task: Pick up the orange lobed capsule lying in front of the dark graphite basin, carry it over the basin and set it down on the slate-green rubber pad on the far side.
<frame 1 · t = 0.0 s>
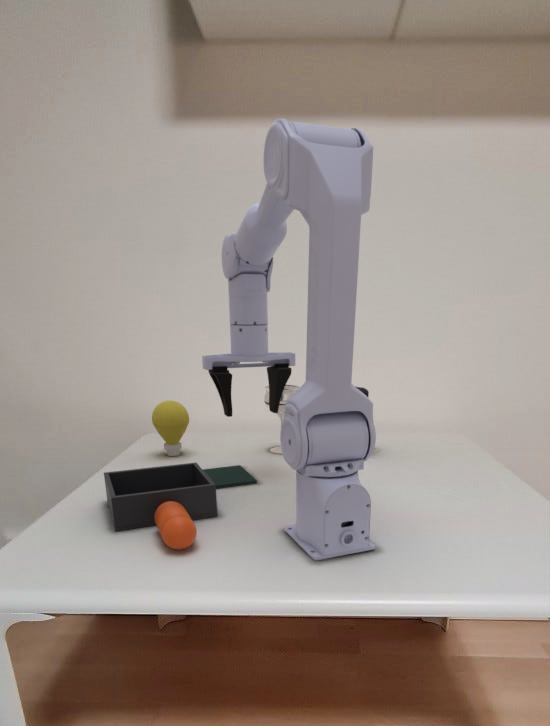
hand: (251, 413, 87), 10 cm above the table, tool pointing down, fingers open, 7 cm apart
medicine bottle: (349, 451, 105), on the table
light bulb: (173, 455, 102), on the table
wineglass: (282, 451, 105), on the table
pad: (218, 478, 88), on the table
orange lobed capsule: (176, 539, 66), on the table
basin: (160, 509, 76), on the table
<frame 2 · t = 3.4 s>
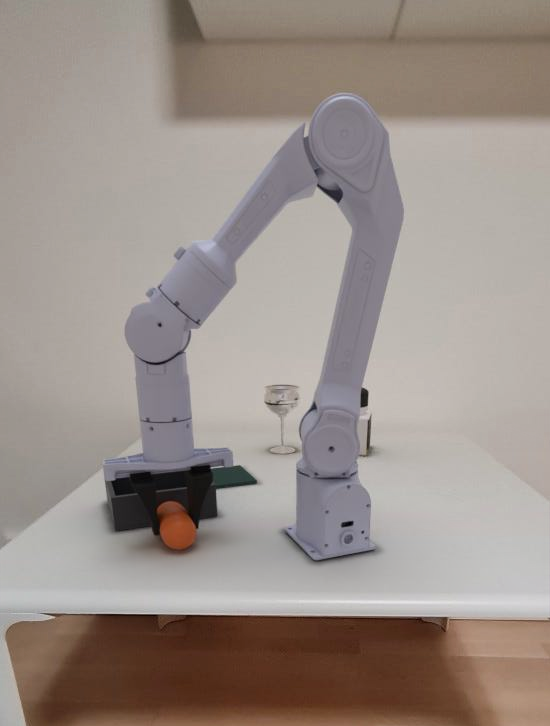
hand: (175, 529, 66), 1 cm above the table, tool pointing down, fingers closed on orange lobed capsule, 4 cm apart
orange lobed capsule: (176, 539, 66), on the table, touching gripper
everything else where it was.
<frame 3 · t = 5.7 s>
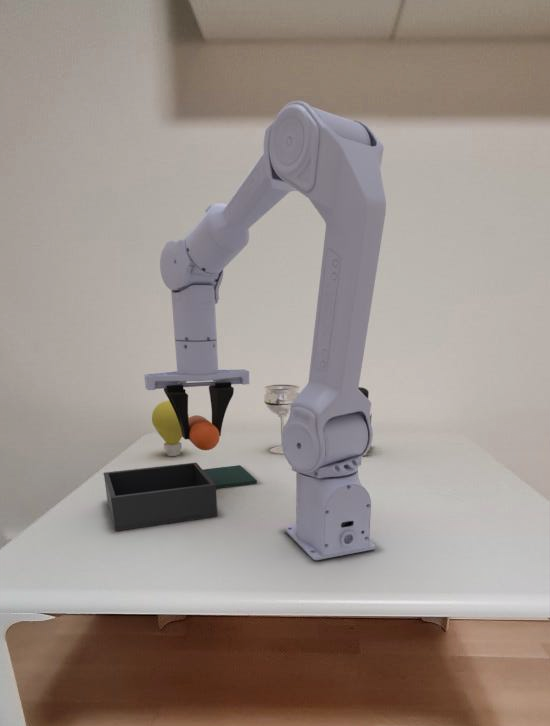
hand: (201, 436, 80), 8 cm above the table, tool pointing down, fingers closed on orange lobed capsule, 4 cm apart
orange lobed capsule: (202, 445, 80), point 7 cm above the table, touching gripper
everything else where it was.
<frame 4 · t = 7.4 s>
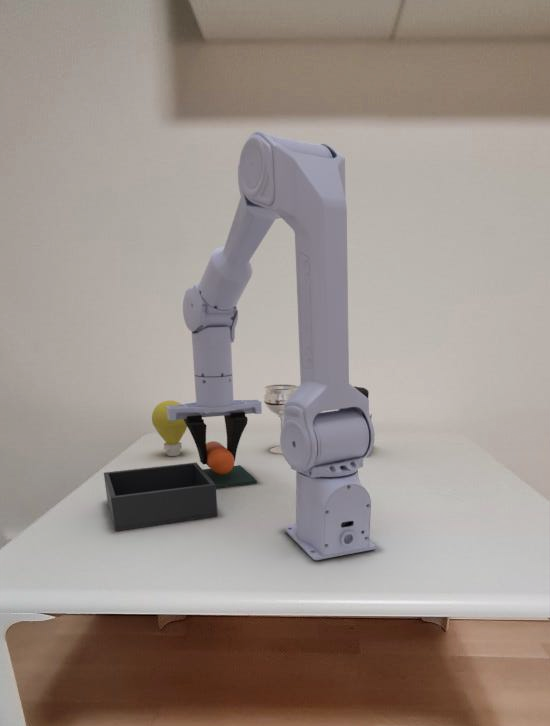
hand: (217, 461, 87), 3 cm above the table, tool pointing down, fingers closed on orange lobed capsule, 4 cm apart
orange lobed capsule: (218, 469, 88), point 2 cm above the table, touching gripper
everything else where it was.
when the fingers open (2 cm above the table, at t = 8.2 s): orange lobed capsule stays where it is, resting on pad.
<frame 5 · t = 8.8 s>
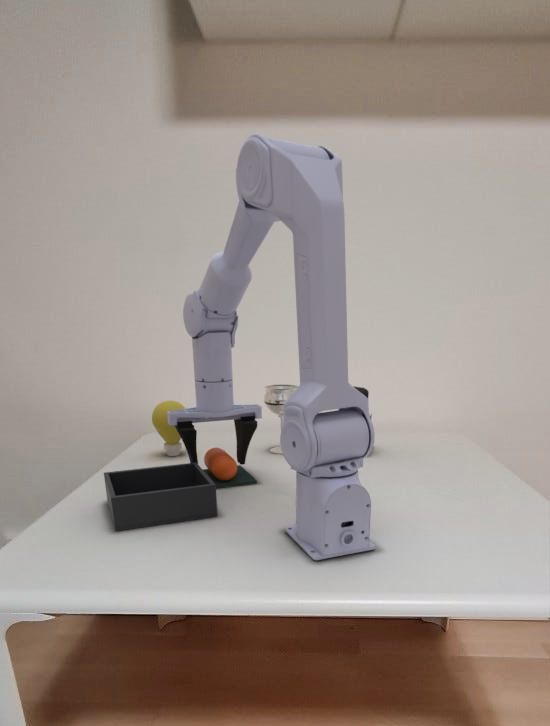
hand: (218, 465, 87), 2 cm above the table, tool pointing down, fingers open, 7 cm apart
orange lobed capsule: (218, 475, 88), point 1 cm above the table, tilted 12°, touching pad
everything else where it was.
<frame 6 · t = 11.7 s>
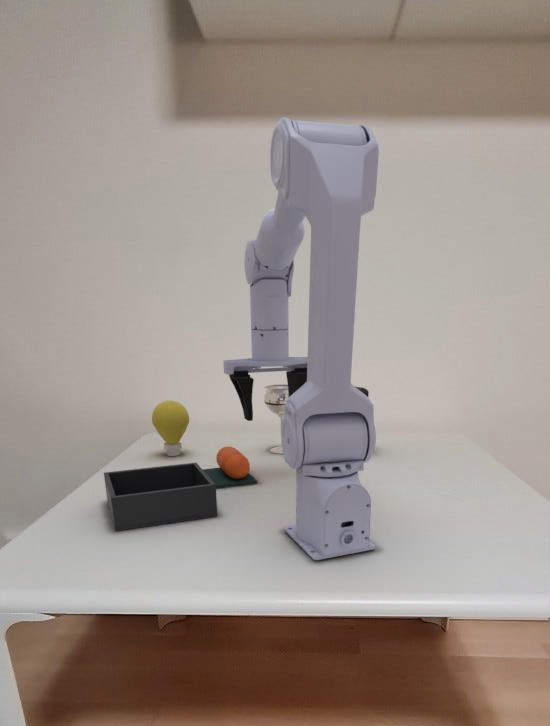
hand: (271, 417, 88), 9 cm above the table, tool pointing down, fingers open, 7 cm apart
orange lobed capsule: (221, 467, 88), point 2 cm above the table, tilted 71°, touching pad
everything else where it was.
at the end: orange lobed capsule inside the target area on the pad (0.5 cm from its centre), point 1.9 cm above the pad's base; orange lobed capsule moved 24.1 cm from its start; the gripper is holding nothing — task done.
